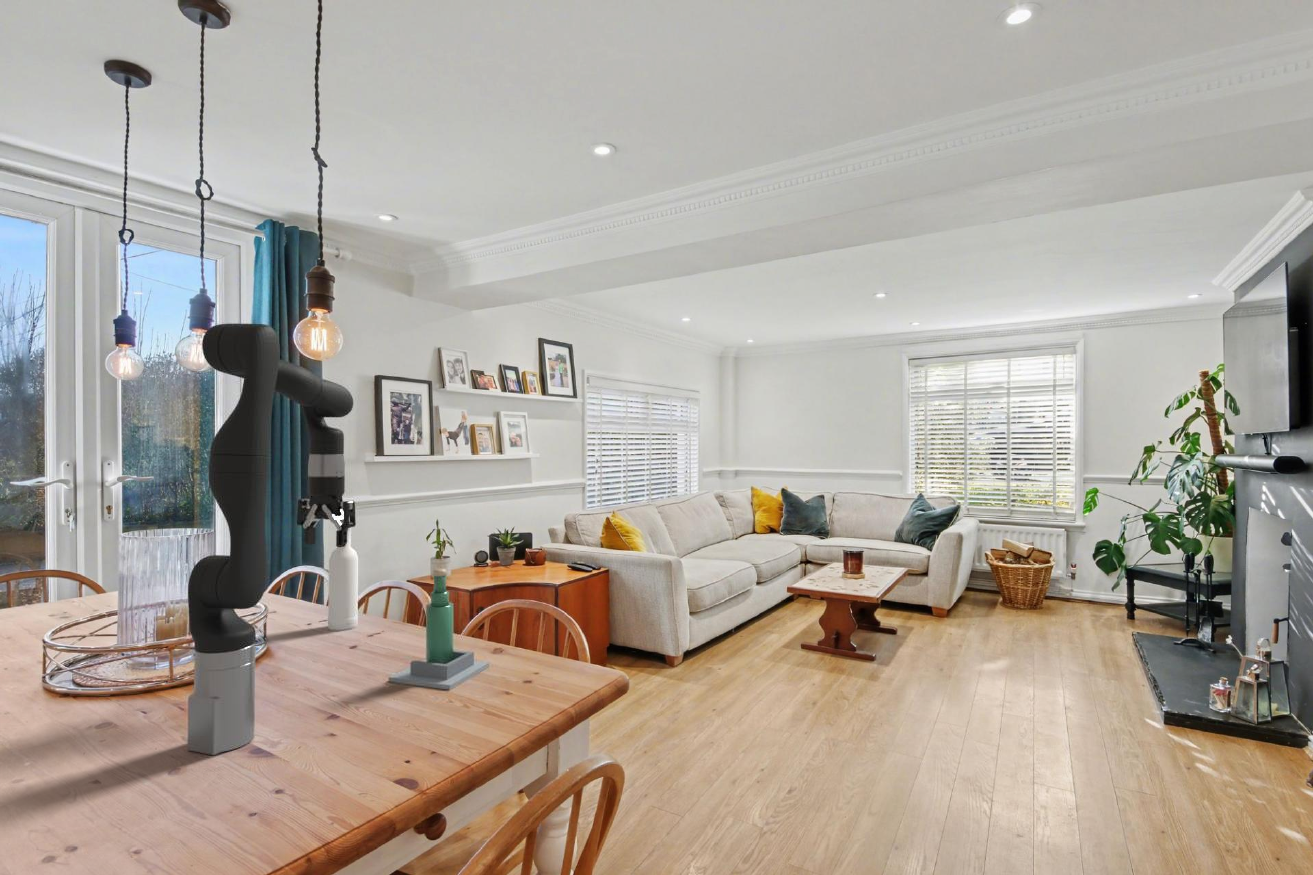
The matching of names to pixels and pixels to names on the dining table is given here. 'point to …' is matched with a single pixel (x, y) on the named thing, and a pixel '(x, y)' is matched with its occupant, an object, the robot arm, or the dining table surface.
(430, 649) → the bottle
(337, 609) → the bottle
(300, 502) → the robot arm
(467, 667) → the bottle rest
